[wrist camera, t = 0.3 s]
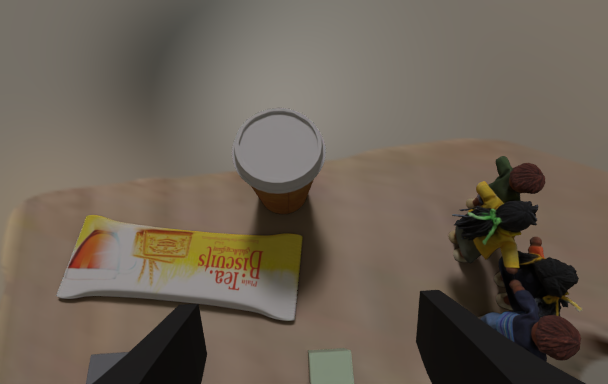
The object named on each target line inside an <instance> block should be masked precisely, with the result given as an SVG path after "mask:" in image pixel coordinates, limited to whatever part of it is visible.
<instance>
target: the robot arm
mask: <svg viewBox="0 0 608 384" xmlns="http://www.w3.org/2000/svg"><path fill="white" fill-rule="evenodd" d="M416 343H417V346H418V349H419V352H420V355H421V358H422V361H423V363H424V366H425V369H426V371H427V374H428V376H429V378H430V380H431V382H432V384H585V383H584V382H582V381H580V380H578V379H576V378H574V377H572V376H571V375H569V374H567V373H565V372H563V371H562V370H560V369H558V368H556V367H554V366H552V365H551V364H549V363H547V362H546V361H544V360H542V359H540V358H539V357H537V356H535V355H534V354H532V353H531V352H529V351H527V350H526V349H524V348H523V347H521V346H519V345H518V344H516V343H515V342H513V341H512V340H510V339H509V338H507V337H506V336H504V335H502V334H501V333H499V332H498V331H497V330H495V329H494V328H492V327H491V326H489V325H488V324H486V323H485V322H483V321H482V320H481V319H479V318H478V317H476V316H475V315H474V314H472V313H471V312H469V311H468V310H467V309H465V308H464V307H462V306H461V305H460V304H458V303H457V302H456V301H454V300H453V299H451V298H450V297H448V296H447V295H446V294H444V293H443V292H441V291H440V290H429V291H420V298H419V311H418V323H417V336H416ZM206 357H207V351H206V345H205V339H204V333H203V327H202V322H201V316H200V310H199V304H186V305H179V306H178V307H177V308H175V309H174V310H173V311H172V312H171V313H170V314H169V315H168V316H167V317H166V318H165V319H164V320H163V321H162V322H161V323H160V324H159V325H158V326H157V327H156V328H154V329H153V330H152V331H151V332H150V333H149V334H148V335H147V336H146V337H145V338H144V339H143V340H142V341H141V342H140V343H138V344H137V345H136V346H135V347H134V348H133V349H132V350H131V351H130V352H129V353H128V354H126V355H125V356H124V357H123V358H122V359H121V360H119V361H118V362H117V363H116V364H115V365H114V366H113V367H111V368H110V369H109V370H108V371H107V372H106V373H104V374H103V375H102V376H101V377H100V378H99V379H97V380H96V381H95V382H94V383H92V384H201V381H202V377H203V372H204V367H205V362H206Z"/></svg>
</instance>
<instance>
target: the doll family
mask: <svg viewBox="0 0 608 384" xmlns="http://www.w3.org/2000/svg"><path fill="white" fill-rule="evenodd" d="M496 166H497V170H498V174H499V177H497V178H496V180H495V181H494V182H493V183H491V184H489V185H488V184H487V183H486V182H485V181H484V182H481V183H479V184H478V185H477V187H476V191H477V193H478V195H477V197H476V198H475V199H468V200H467V201H466V206H467V207H468V208H469V209H461V210H460V211H464V210H466V211H467V210H469V212H468V214H466V215H465V216H464V215H457V214H452V216H459V217H462V218H461V219H460V220H457V221H456V223H455V224H454V225H457V226H456V229H455V230H454V231H452V232H450V233H449V236H448V237H449V240H450V241H451V242H452V243H455V244H459V247H460V248H458V249H456V250H454V252H453V255H454V258H455V259H456V260H457V261H461V262H469V263H472V262H474V261H475V260H476V259H477V258H478V257H480V256H481V255H482V256H483V257H484V258H485V260H486V259H488V258H489V257H490V256H491V254H492V253H493V252H494V251H495V250H496V249H498V248H500V249H501V253H502V257H501V258H500V259H499V269H500V272H499V273H497V274H496V275H495V277H494V280H495V282H496V284H497V285H499V286H501V287H505V289H506V292H507V293H500V294H498V295H497V297H496V302H497V304H498V305H499V306H501V307H503V308H506V309H509V310H513V311H514V312H510V311H507V312H503V313H502V314H499V313H495V312H492V313H488V314H486V315H483V316H480V317H478V318H479V319H481V320H482V321H483V322H485V323H486V324H488V325H489V326H491V327H492V328H494V329H495V330H497V331H498V332H499V333H501V334H502V335H504V336H506V337H507V338H509V339H510V340H512V341H513V342H515V343H516V344H518V345H519V346H521V347H523V348H524V349H526V350H527V351H529V352H531V353H532V354H534V355H535V356H537V357H539V358H540V359H542V360H544V361H547V357H546V354H547V355H549V356H550V357H552V358H554V359H556V360H567V359H569V358H570V357H572V356H574V355H575V354H576V353H577V352H578V351H579V349H580V341H581V337H580V334H579V331H578V330H577V329H576V328H575V327H574V326H573V325H572V324H571V323H570V322H569V321H567V320H566V319H564V318H562V317H560V309H561V306H560V302H561V304H562V306H563V307H568V303H571V304H572V305H573V306H574V307H575V308H576V309H577V311H582V308H580V307H579V306H578V305H577V304H576V303H575V302H573V301H572V300H570V299H569V298H568V297H565V295H567V294H568V295H569V293H568V292H567V290H568V289H570V288H571V287H572V286H574V284H577V282H578V279H579V278H578V276H577V274H576V272H577V271H576V270H575V268H573V267H572V266H571V265H567V264H566V263H562V262H560V261H559V260H557V259H552V258H550V257H548V258H547V259H545V258H544V255H543V248H542V247H541V244H542V240H541V239H540V238H539V237H532V238H531V239H530V247H529V249H528V252H529V253H522V252H520V251H517V244H516V243H515V240H514V237H515V236H516V235H521V232H520V231H522V230H524V229H526V228H528V227H529V226H530V225H537V224H536V223H535V222H536V221H537V218H536V214H535V213H536V211H537V210H538V205H535V206H532V203H531V202H530V201H529V202H523V201H521V200H520V193H530V194H535V193H538V192H539V191H540V190H542V188H543V187H544V184H545V176H544V175H543V173H542V172H541V170H540V169H539V168H538V167H537V166H536V165H534V164H531V163H523V164H521V165H519V166H517V167H514V168H512V167H511V165H510V163H509V160H508V159H507V157H505V156H502V157H500V158H498V159H496ZM541 317H542V318H541Z"/></svg>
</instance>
